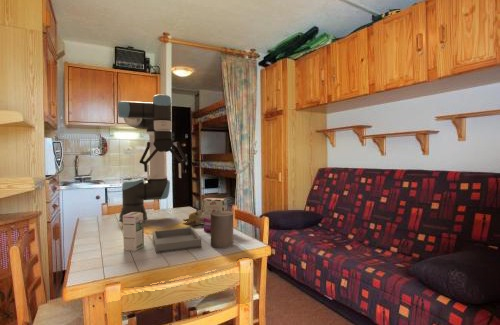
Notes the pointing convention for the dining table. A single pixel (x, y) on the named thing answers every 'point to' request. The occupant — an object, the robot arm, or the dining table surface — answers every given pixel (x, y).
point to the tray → (176, 240)
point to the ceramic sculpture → (195, 218)
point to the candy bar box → (212, 210)
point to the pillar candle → (221, 229)
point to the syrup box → (133, 231)
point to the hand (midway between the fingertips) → (164, 178)
